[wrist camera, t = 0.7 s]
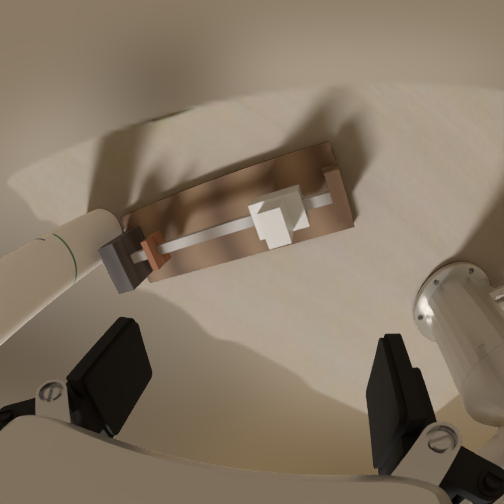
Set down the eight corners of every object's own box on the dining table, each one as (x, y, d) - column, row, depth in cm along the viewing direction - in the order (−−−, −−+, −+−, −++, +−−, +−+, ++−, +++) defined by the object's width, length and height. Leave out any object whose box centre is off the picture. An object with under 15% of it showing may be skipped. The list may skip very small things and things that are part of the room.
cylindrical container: (82, 208, 41) (-54, 281, 18) (119, 209, 40) (-26, 294, 17) (88, 252, 44) (-30, 341, 21) (125, 257, 43) (3, 362, 20)
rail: (328, 141, 32) (335, 144, 25) (353, 223, 35) (364, 248, 28) (124, 215, 40) (90, 234, 33) (153, 279, 43) (126, 307, 36)
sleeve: (299, 184, 31) (296, 199, 24) (309, 216, 32) (309, 240, 26) (253, 198, 33) (238, 217, 26) (265, 229, 34) (253, 256, 27)
